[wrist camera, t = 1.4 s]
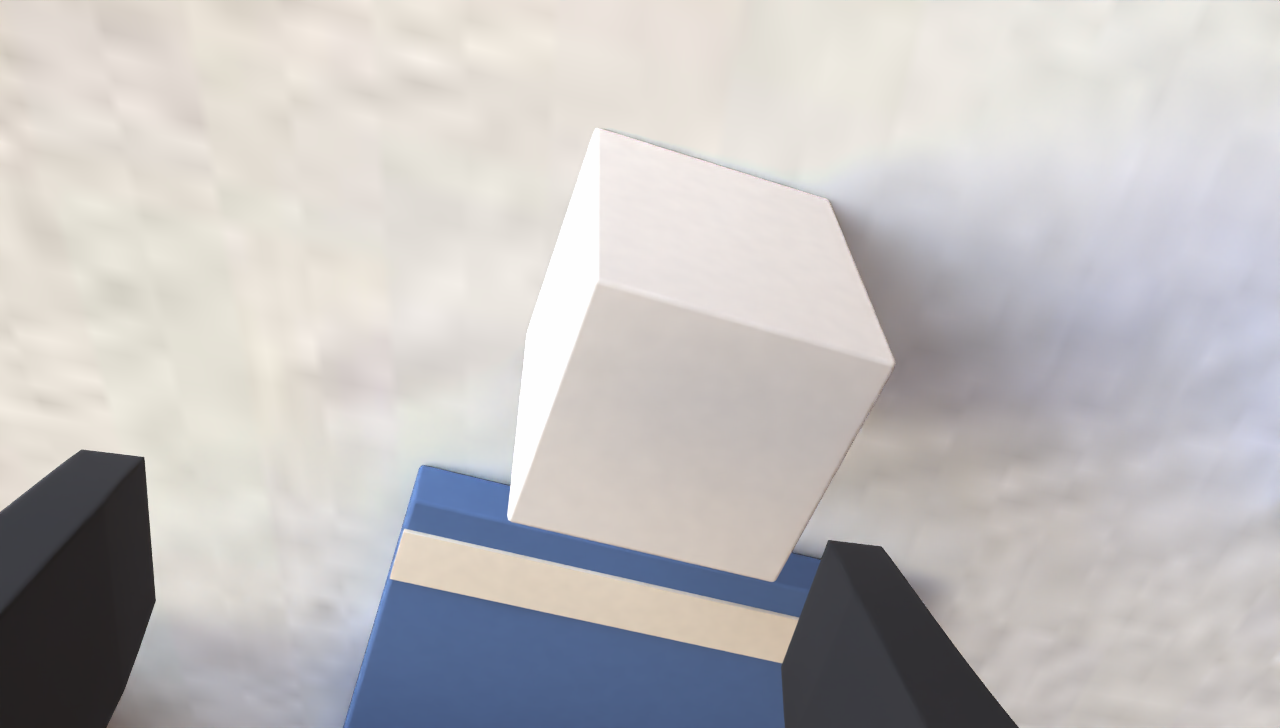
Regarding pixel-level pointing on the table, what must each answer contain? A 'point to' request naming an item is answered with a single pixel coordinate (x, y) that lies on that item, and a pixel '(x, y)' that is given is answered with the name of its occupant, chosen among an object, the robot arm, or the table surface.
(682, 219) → the white block
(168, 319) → the table surface
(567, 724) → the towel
